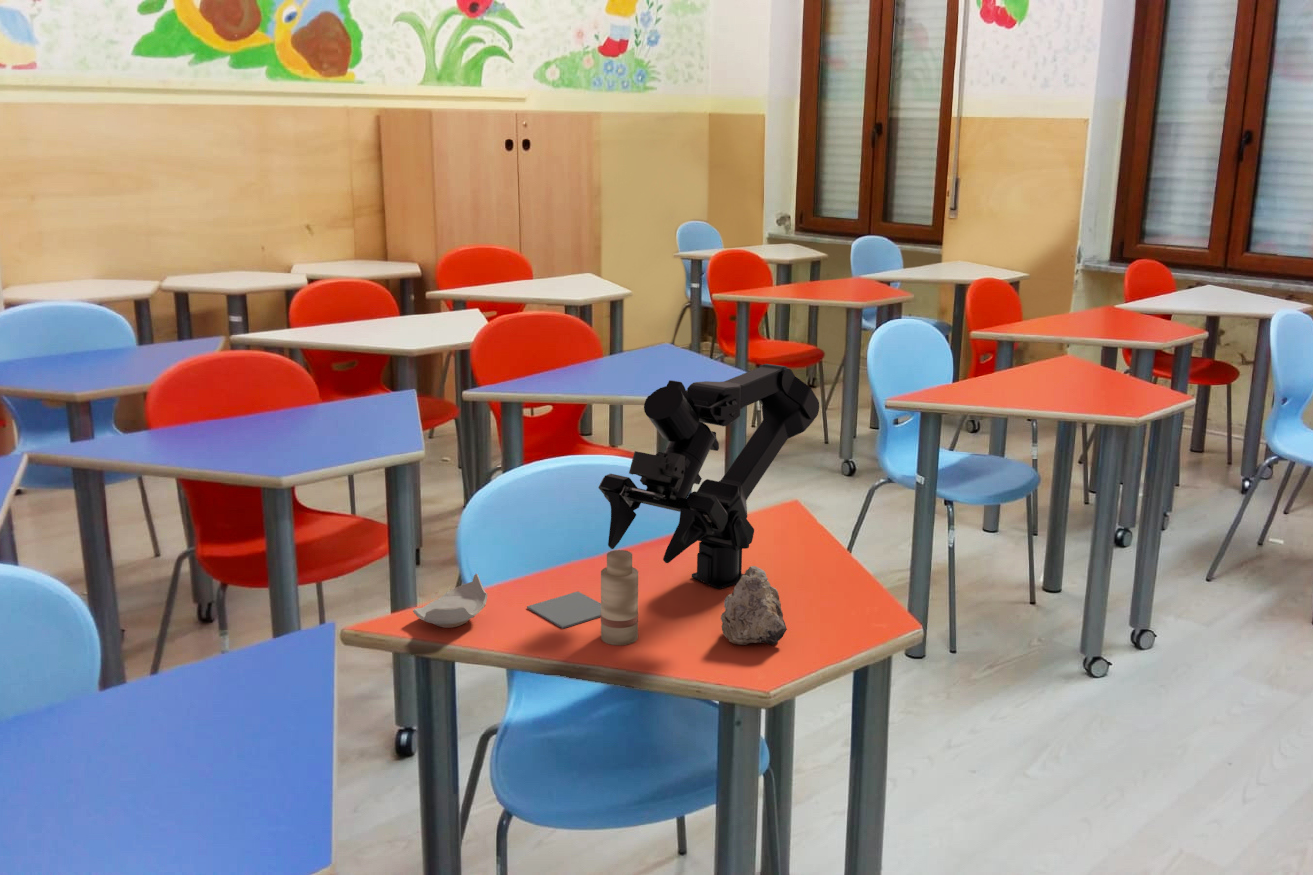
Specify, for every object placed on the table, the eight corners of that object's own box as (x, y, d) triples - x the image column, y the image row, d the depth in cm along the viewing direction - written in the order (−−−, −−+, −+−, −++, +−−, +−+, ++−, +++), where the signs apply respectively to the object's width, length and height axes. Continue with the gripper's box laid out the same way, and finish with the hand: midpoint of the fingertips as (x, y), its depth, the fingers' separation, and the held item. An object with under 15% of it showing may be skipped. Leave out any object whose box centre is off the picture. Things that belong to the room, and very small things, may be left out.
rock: (721, 666, 149) (755, 631, 143) (691, 595, 155) (724, 559, 148) (770, 658, 154) (806, 624, 148) (740, 590, 159) (773, 555, 153)
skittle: (622, 626, 155) (622, 545, 152) (645, 638, 151) (646, 555, 148) (593, 635, 152) (592, 553, 149) (615, 648, 148) (615, 564, 145)
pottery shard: (473, 601, 163) (472, 569, 162) (508, 629, 154) (507, 595, 153) (405, 617, 157) (404, 584, 156) (438, 646, 148) (436, 612, 147)
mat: (577, 593, 166) (577, 591, 166) (614, 612, 160) (614, 610, 159) (527, 608, 161) (527, 606, 161) (562, 628, 154) (562, 626, 154)
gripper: (606, 418, 157) (557, 512, 151) (719, 438, 147) (671, 540, 141) (638, 460, 165) (592, 550, 159) (747, 481, 155) (703, 579, 149)
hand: (637, 554), depth 152 cm, fingers open, 9 cm apart
